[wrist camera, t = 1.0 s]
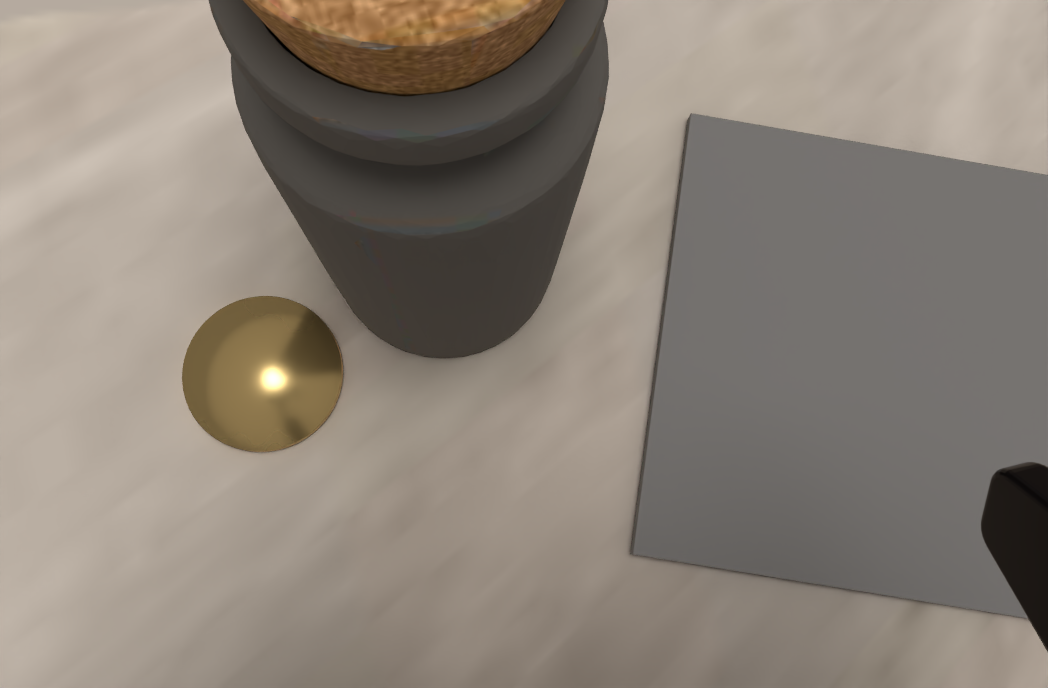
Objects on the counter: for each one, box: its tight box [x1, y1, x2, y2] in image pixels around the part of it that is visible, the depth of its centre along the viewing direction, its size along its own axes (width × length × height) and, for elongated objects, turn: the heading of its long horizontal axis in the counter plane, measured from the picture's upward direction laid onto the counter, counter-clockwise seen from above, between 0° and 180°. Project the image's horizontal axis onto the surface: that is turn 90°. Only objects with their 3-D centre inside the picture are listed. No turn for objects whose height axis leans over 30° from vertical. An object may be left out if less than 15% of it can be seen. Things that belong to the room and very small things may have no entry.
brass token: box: [182, 296, 343, 452], centre depth 23 cm, size 4×4×1 cm
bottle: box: [209, 0, 609, 358], centre depth 17 cm, size 6×6×15 cm
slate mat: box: [630, 113, 1048, 618], centre depth 24 cm, size 12×12×1 cm
